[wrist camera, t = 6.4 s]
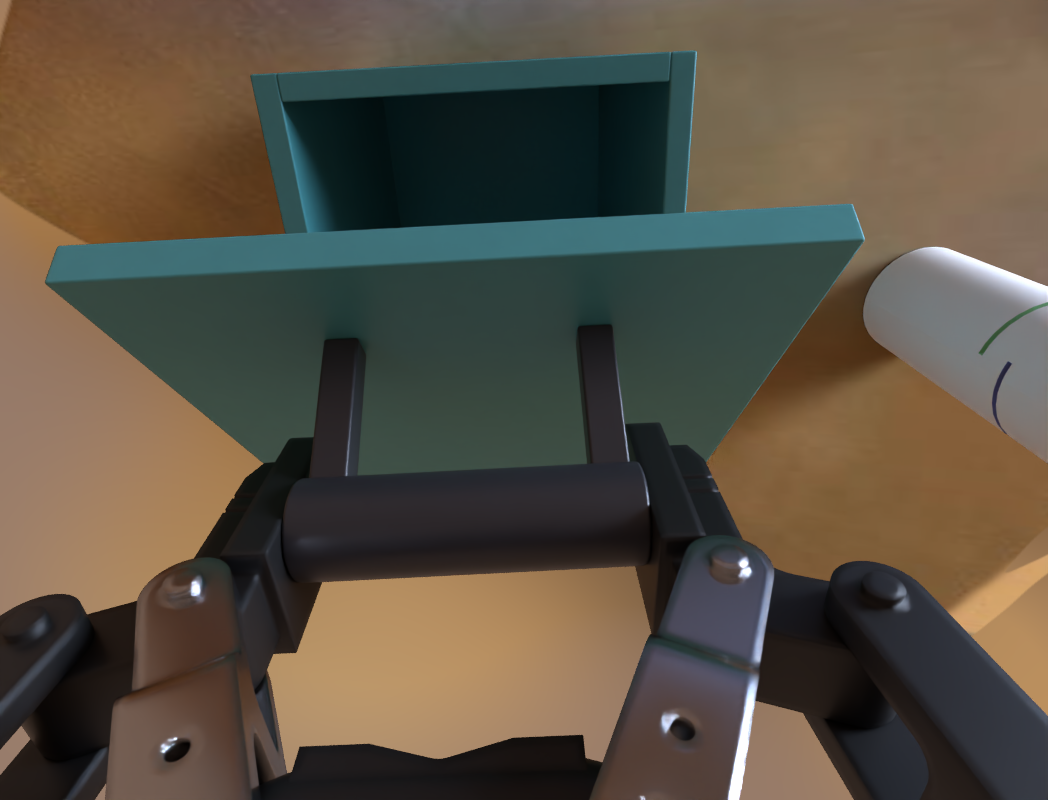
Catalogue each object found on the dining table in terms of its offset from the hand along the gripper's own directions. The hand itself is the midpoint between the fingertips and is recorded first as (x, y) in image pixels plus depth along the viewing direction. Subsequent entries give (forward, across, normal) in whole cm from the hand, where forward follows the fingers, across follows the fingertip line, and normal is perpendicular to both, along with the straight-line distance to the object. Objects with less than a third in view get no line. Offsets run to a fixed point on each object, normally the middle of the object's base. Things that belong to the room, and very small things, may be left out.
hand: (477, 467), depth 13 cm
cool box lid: (+5, 0, +2) cm, 5 cm away
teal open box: (+28, 0, +1) cm, 28 cm away
